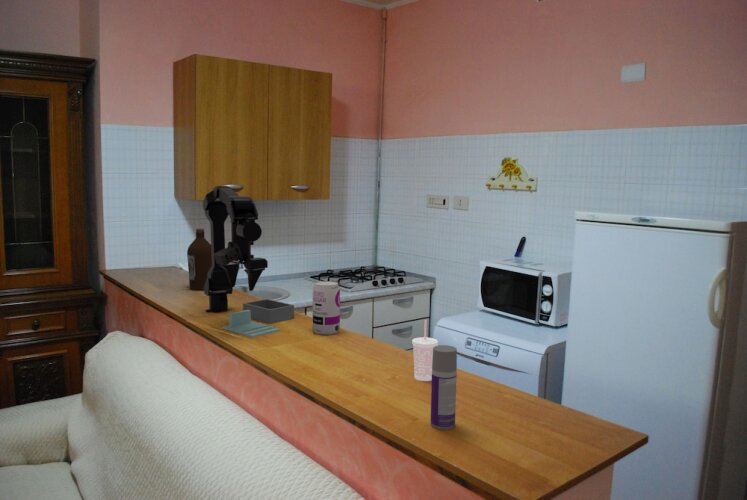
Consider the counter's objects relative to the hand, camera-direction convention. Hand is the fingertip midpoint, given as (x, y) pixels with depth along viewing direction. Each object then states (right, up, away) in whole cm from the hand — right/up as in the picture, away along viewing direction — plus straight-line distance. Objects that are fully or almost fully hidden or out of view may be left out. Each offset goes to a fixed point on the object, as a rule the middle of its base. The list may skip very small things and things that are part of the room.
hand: (241, 288), depth 177 cm
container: (+54, -22, -67) cm, 88 cm away
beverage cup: (+52, -18, -41) cm, 69 cm away
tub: (+6, -11, +13) cm, 18 cm away
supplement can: (+26, -13, -1) cm, 29 cm away
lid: (+3, -12, -2) cm, 13 cm away
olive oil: (-31, -4, +63) cm, 71 cm away
